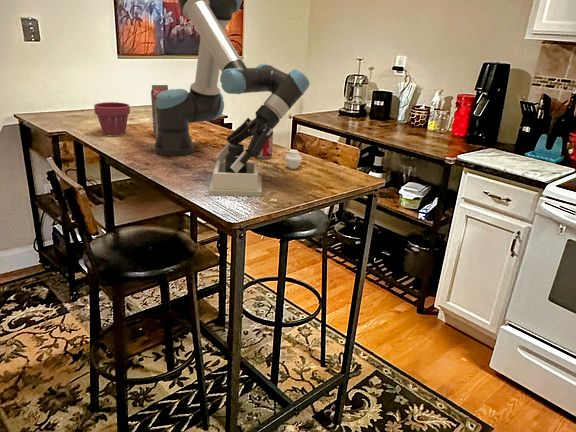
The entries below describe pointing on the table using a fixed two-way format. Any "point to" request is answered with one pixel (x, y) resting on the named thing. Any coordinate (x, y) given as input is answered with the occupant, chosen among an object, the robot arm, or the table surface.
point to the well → (236, 181)
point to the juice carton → (154, 92)
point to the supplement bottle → (234, 158)
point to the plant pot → (112, 117)
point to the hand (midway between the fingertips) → (225, 165)
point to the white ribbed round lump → (293, 159)
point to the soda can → (267, 149)
